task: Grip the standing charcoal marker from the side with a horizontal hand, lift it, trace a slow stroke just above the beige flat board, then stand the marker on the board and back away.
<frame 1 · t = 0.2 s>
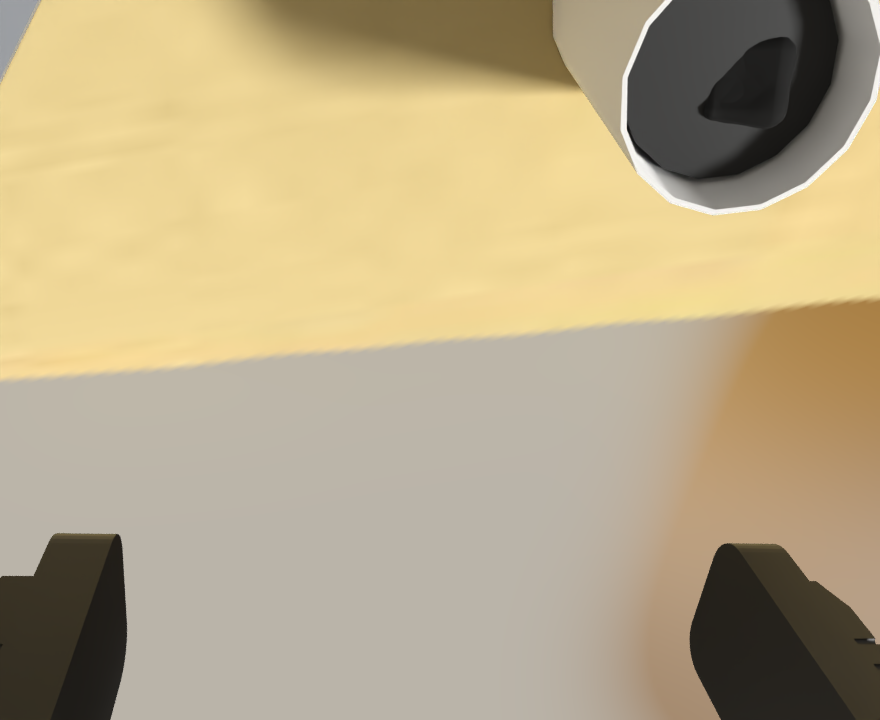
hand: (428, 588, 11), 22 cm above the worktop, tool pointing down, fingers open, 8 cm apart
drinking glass: (631, 9, 29), on the worktop
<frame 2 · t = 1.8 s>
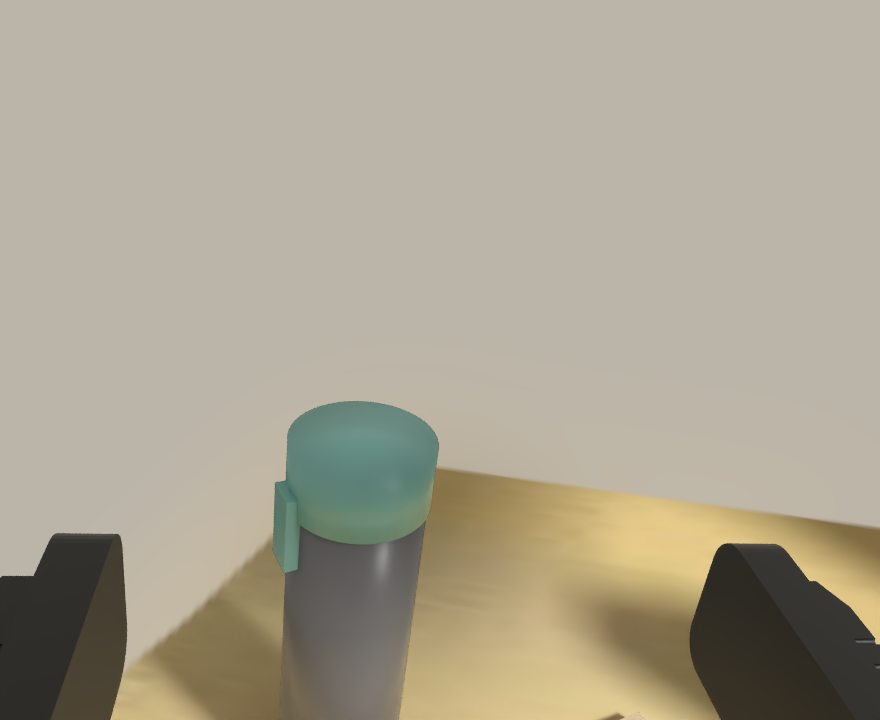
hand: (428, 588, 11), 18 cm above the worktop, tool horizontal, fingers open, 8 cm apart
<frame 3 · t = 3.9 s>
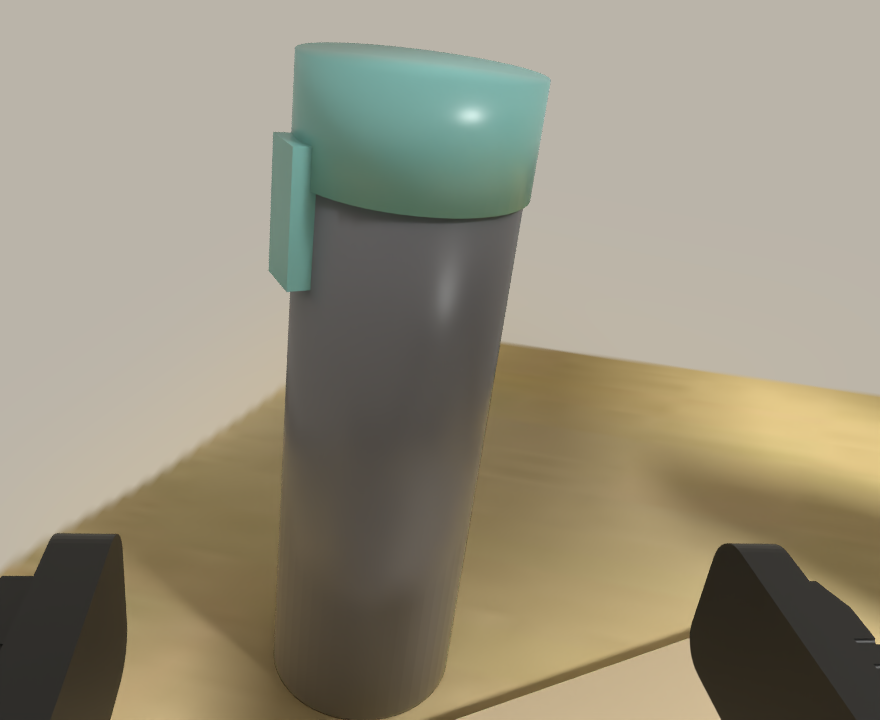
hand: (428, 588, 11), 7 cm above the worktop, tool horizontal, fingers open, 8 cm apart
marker: (361, 648, 19), on the worktop
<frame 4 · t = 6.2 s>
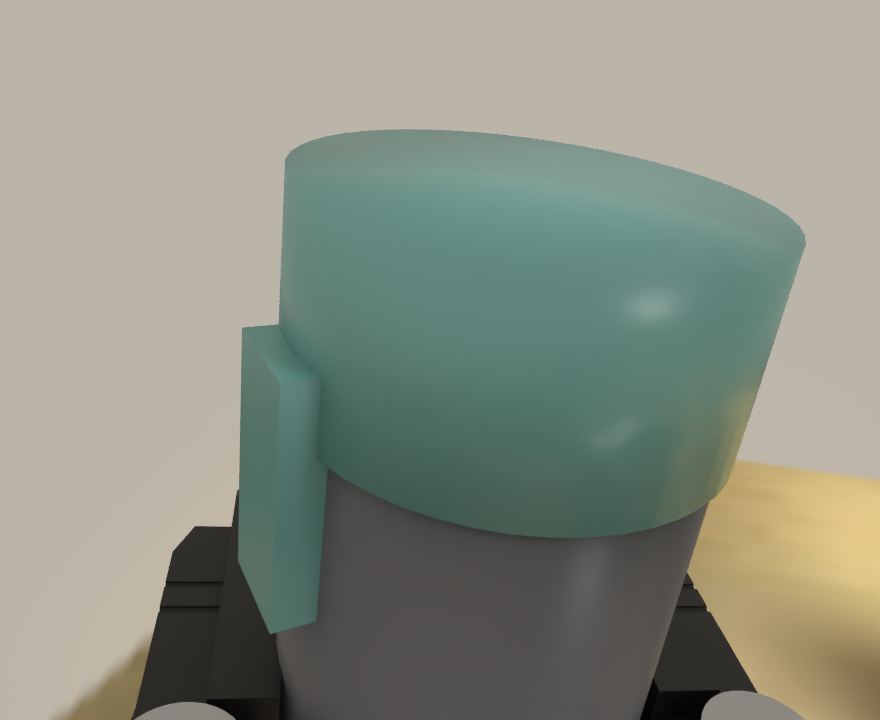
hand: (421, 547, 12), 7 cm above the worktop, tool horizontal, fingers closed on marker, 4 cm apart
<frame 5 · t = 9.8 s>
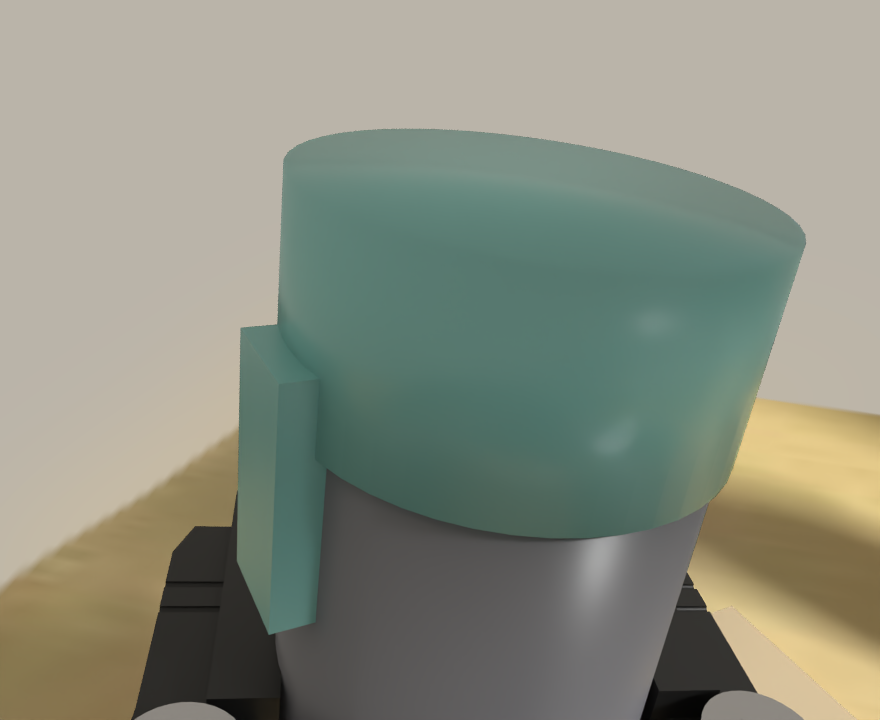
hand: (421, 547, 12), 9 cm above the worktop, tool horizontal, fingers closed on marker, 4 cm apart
when the fingers open (8 cm above the worktop, at t = 13.4 s): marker stays where it is, resting on beige flat board.
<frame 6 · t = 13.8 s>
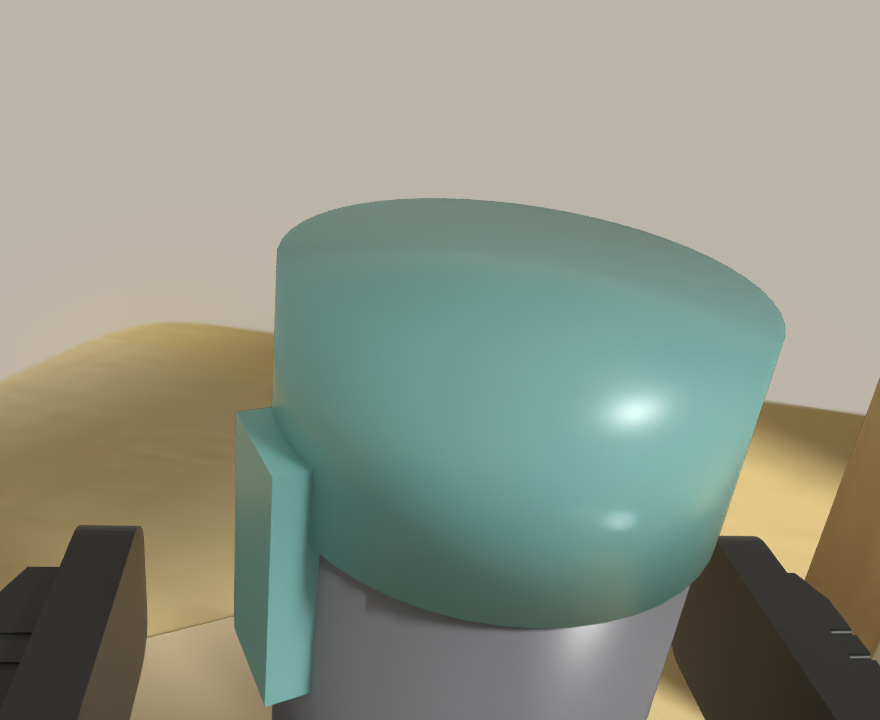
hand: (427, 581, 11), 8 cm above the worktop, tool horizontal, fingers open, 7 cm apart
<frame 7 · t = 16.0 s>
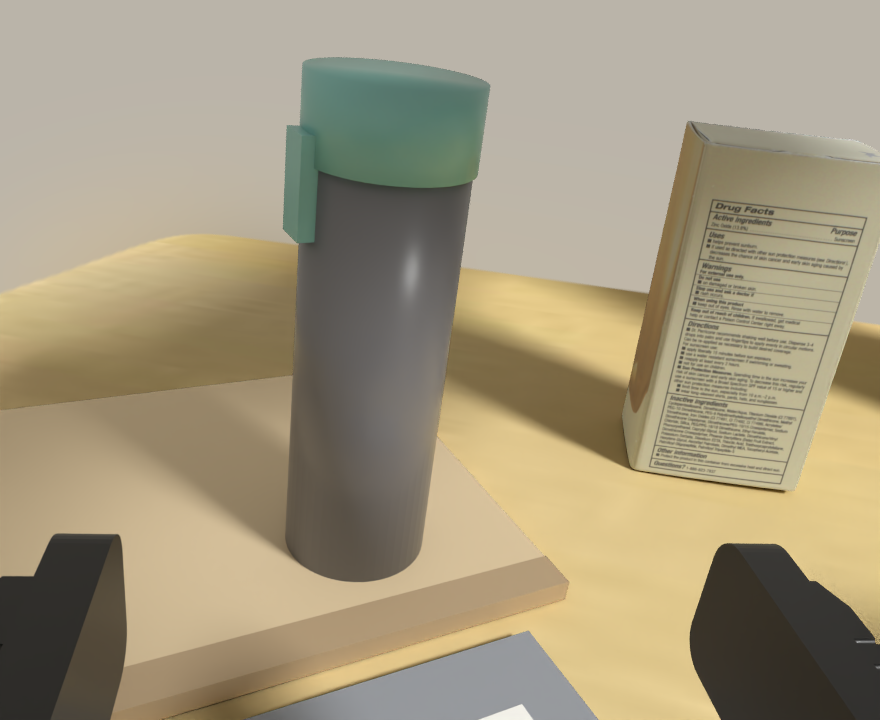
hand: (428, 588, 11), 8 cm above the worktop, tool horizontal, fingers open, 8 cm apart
beige flat board: (191, 517, 25), on the worktop
skincare box: (696, 457, 32), on the worktop
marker: (354, 535, 24), point 1 cm above the worktop, touching beige flat board
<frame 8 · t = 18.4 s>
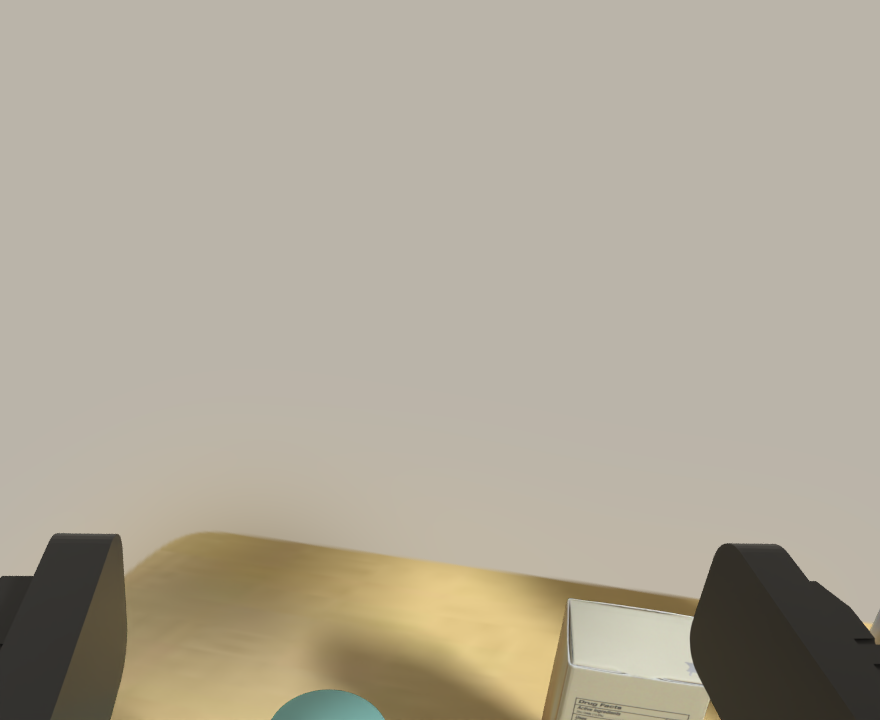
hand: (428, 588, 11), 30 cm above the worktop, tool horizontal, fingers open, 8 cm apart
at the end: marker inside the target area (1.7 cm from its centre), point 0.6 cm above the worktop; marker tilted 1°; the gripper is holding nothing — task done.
